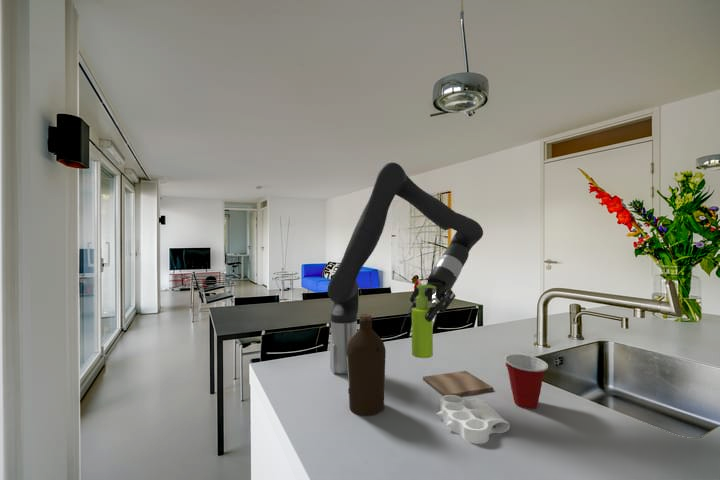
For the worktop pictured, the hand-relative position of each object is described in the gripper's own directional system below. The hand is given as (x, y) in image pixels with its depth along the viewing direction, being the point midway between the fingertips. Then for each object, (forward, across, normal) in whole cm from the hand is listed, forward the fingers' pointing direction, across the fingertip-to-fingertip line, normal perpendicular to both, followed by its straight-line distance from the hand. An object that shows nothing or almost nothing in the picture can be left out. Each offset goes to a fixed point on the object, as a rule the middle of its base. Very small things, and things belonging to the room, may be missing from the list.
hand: (418, 317), depth 97 cm
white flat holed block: (+16, +16, +17) cm, 29 cm away
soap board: (+5, 0, +28) cm, 28 cm away
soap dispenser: (+6, 0, +9) cm, 11 cm away
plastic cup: (+2, +20, +31) cm, 37 cm away
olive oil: (+27, -6, +6) cm, 28 cm away
